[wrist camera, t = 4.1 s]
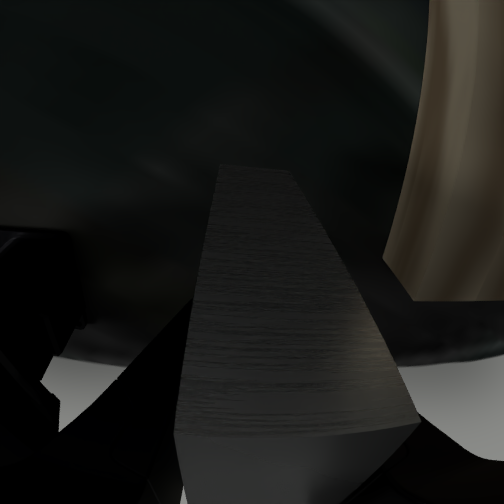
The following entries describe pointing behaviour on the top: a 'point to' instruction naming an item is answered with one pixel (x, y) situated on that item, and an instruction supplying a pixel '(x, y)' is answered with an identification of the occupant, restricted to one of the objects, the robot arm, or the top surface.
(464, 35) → the post base
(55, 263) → the robot arm
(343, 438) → the bracket plate
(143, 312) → the top surface
